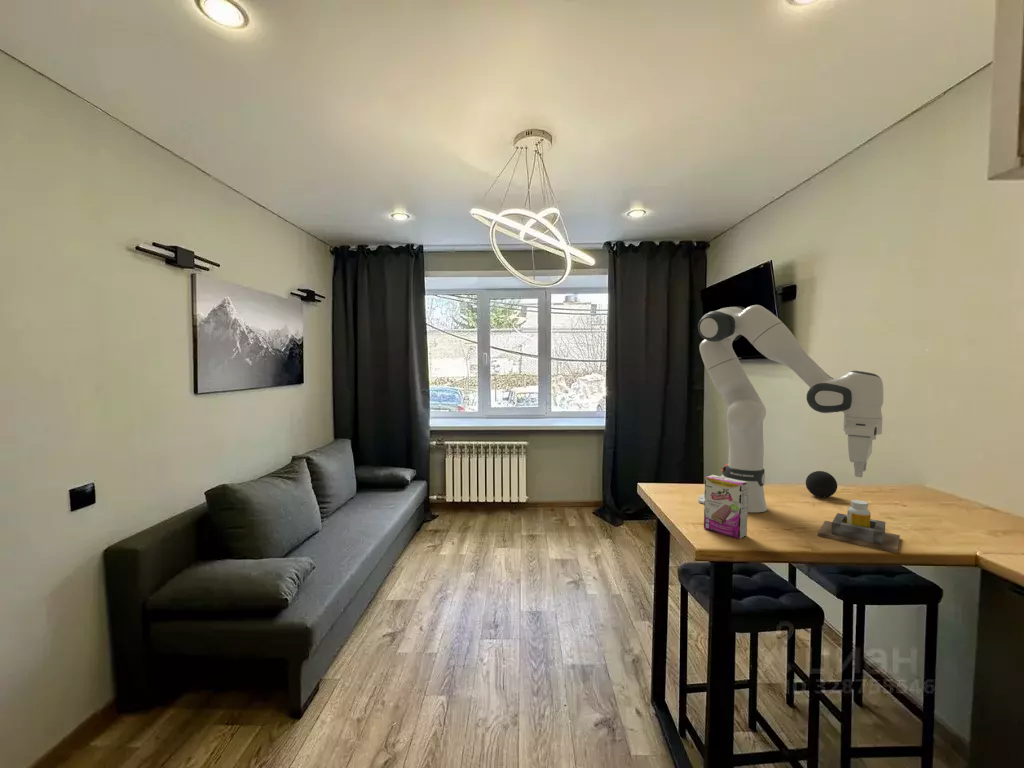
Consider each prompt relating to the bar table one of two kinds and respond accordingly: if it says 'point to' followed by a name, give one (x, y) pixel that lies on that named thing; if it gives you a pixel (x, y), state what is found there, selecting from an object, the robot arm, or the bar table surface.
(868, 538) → the holder stand
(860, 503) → the supplement bottle
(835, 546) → the bar table surface
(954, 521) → the bar table surface
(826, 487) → the speaker
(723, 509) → the candy bar box
